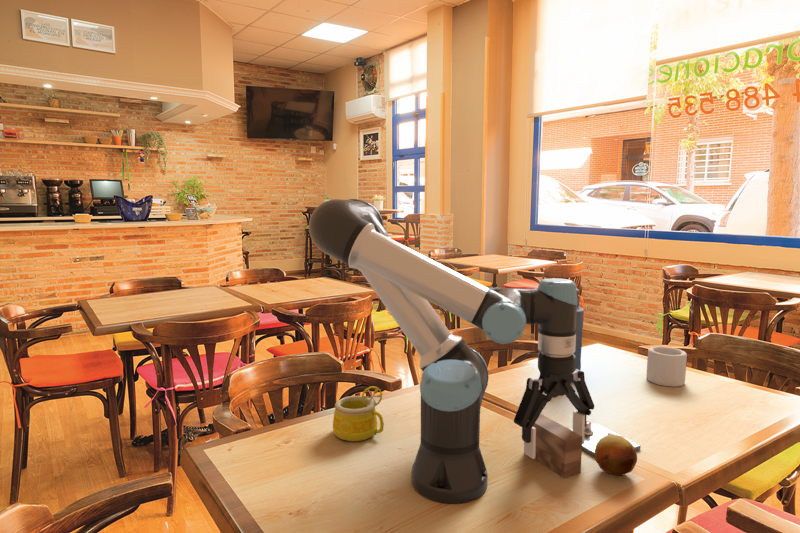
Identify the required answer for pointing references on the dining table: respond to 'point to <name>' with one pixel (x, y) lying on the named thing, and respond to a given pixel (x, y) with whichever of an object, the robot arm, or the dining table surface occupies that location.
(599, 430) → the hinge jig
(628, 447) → the fruit
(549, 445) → the door
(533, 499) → the dining table surface
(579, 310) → the bottle
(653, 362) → the mug
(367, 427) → the mug
